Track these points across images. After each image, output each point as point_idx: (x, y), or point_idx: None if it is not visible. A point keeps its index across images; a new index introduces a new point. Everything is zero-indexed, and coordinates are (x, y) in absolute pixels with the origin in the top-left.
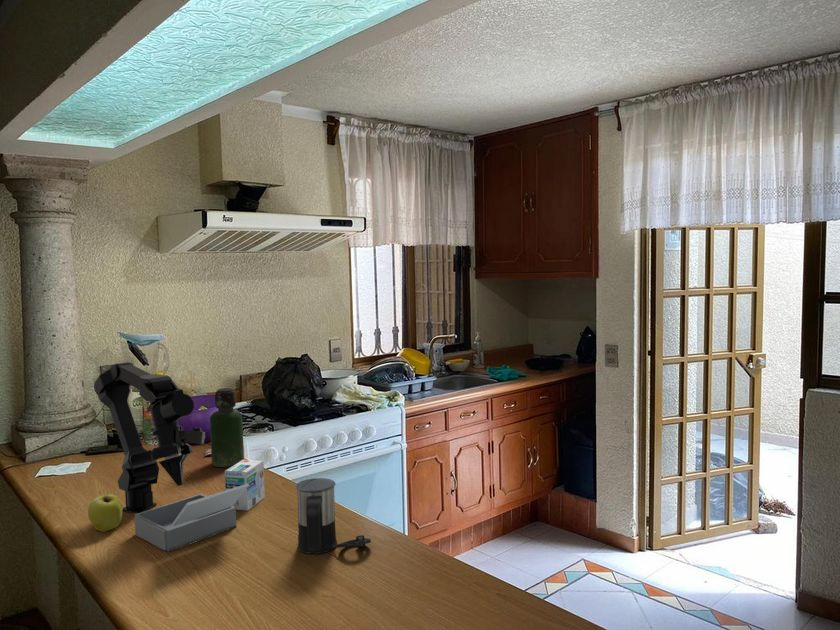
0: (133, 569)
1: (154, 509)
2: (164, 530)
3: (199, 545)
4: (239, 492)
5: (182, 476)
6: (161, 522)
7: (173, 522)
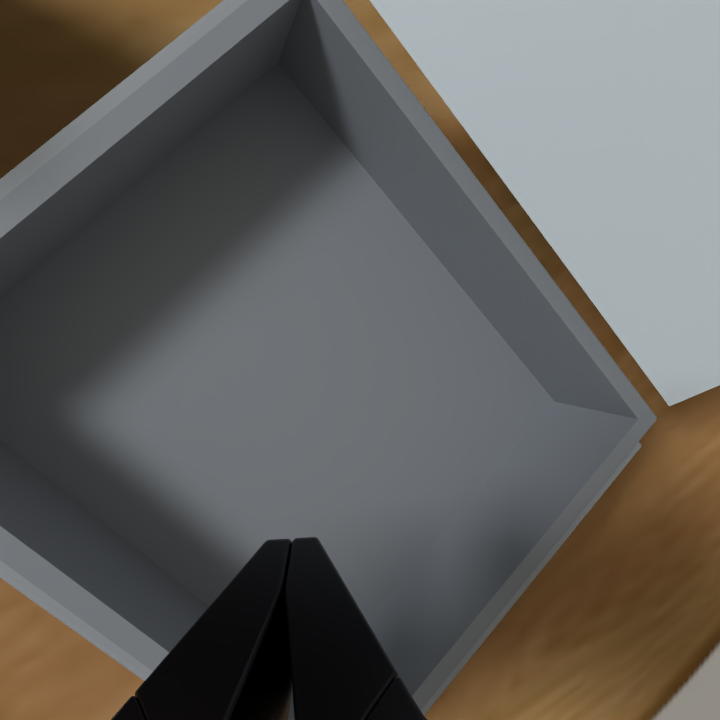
0: (687, 500)
1: None
2: (631, 447)
3: None
4: None
5: (248, 605)
6: (191, 600)
7: (706, 387)
